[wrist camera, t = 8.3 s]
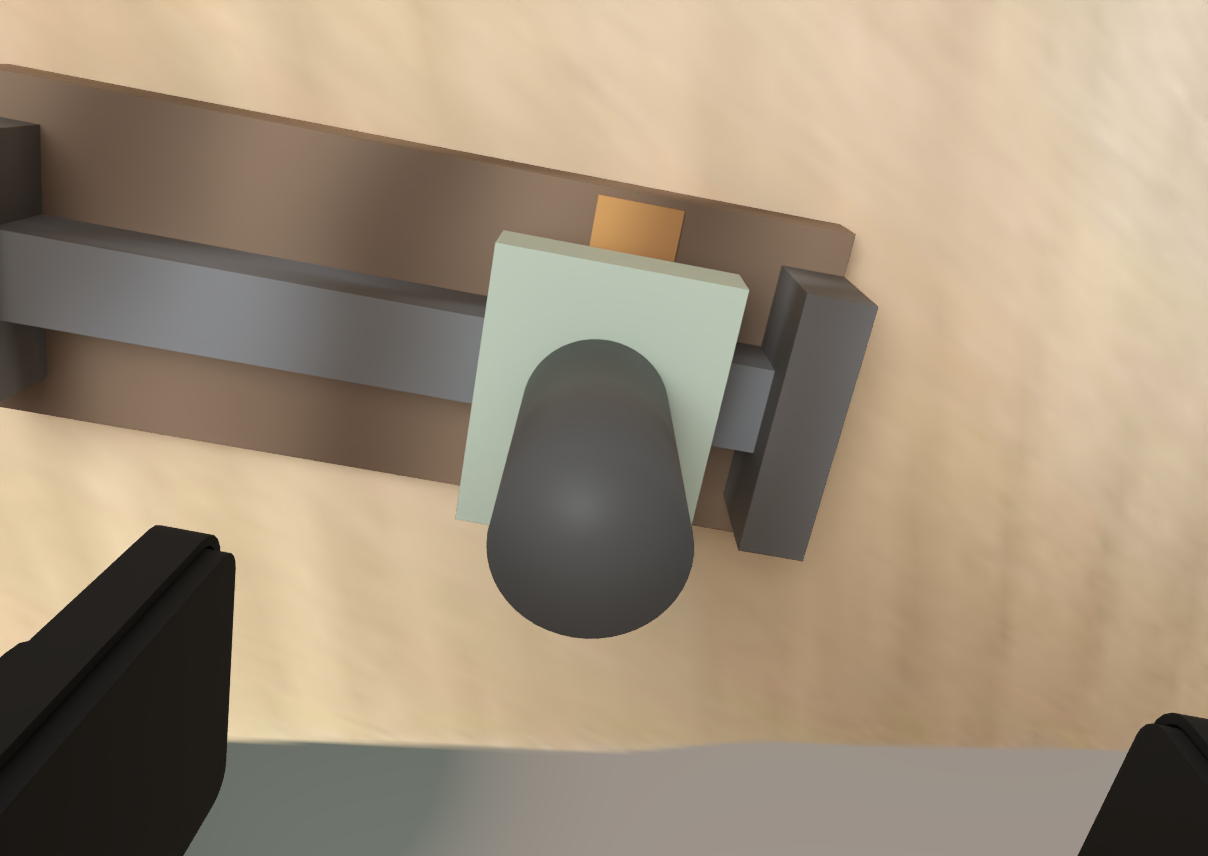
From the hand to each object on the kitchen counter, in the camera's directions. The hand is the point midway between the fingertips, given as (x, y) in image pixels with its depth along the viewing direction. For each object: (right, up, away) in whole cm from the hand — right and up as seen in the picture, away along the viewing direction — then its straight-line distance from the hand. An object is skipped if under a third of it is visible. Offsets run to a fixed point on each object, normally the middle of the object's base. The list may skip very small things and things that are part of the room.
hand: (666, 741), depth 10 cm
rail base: (-5, +6, +14) cm, 16 cm away
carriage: (-1, +5, +13) cm, 14 cm away
